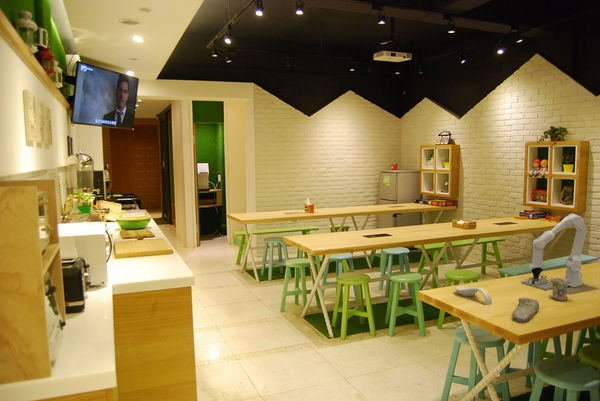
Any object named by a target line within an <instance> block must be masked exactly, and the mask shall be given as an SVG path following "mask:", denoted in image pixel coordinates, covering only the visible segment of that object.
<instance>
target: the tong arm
mask: <svg viewBox="0 0 600 401" xmlns="http://www.w3.org/2000/svg"><path fill="white" fill-rule="evenodd" d="M540 278H542V280H538V281H534V284H535V285H539V284H543V283H546V282H547V278H548V275H540Z"/></svg>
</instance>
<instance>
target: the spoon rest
mask: <svg viewBox="0 0 600 401" xmlns="http://www.w3.org/2000/svg"><path fill="white" fill-rule="evenodd" d="M454 290H455V291H456V293H457V294H460V295H461V296H463V297H473V296H474V295H475V294H476V293H477V292H478V291H479V292H480V293H481V294H482V295H483V298H484V301H483V302H484V305H491V304H492V303H493V302H492V297H491V294H490V293H489V292H488V291H487V290H486V289H485V288H484V287H474V286H469V285H468V286H467V285H462V286H461V285H460V286H459V285H458V286H455V288H454Z"/></svg>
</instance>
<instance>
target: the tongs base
mask: <svg viewBox="0 0 600 401" xmlns="http://www.w3.org/2000/svg"><path fill="white" fill-rule="evenodd" d="M538 280H542V277H539V278H538V279H533V280H530V281H529V283H530V284H534V281H538Z"/></svg>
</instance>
